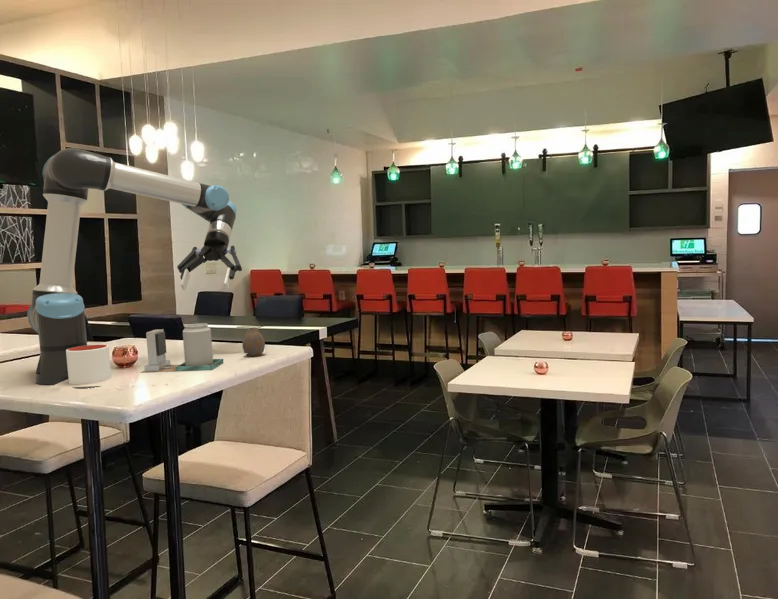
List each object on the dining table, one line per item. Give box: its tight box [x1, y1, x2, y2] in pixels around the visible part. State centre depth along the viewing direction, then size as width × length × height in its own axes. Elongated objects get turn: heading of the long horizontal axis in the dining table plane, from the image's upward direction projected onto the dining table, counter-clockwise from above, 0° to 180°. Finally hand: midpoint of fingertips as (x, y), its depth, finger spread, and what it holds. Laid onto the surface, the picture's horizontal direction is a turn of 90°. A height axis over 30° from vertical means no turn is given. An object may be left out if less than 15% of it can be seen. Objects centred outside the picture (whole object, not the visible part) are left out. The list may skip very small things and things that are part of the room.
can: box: [182, 322, 214, 366], centre depth 174 cm, size 8×8×12 cm
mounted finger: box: [144, 328, 171, 373], centre depth 174 cm, size 4×8×11 cm, turn 178°
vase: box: [241, 327, 266, 358], centre depth 198 cm, size 7×7×9 cm
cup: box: [66, 344, 112, 390], centre depth 163 cm, size 10×10×10 cm
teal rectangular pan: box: [139, 358, 224, 374], centre depth 175 cm, size 20×10×3 cm, turn 88°
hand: (204, 286), depth 193 cm, fingers open, 13 cm apart
